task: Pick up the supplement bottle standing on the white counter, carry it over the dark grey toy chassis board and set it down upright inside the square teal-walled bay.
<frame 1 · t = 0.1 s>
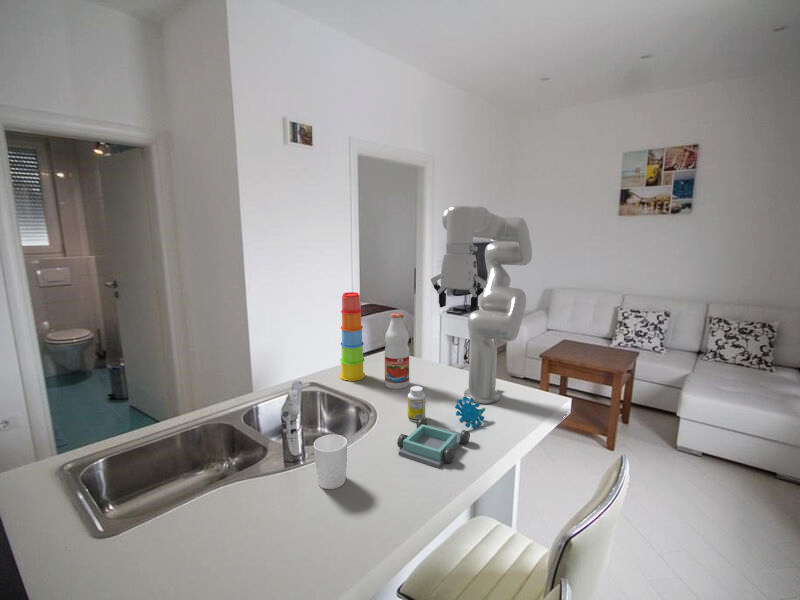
hand: (457, 308, 121), 37 cm above the table, tool pointing down, fingers open, 9 cm apart
gear: (470, 424, 128), on the table
supplement bottle: (416, 419, 131), on the table
stacking cups: (352, 377, 167), on the table
fruit juice: (397, 385, 159), on the table
chassis: (433, 445, 115), on the table
white cup: (331, 481, 99), on the table
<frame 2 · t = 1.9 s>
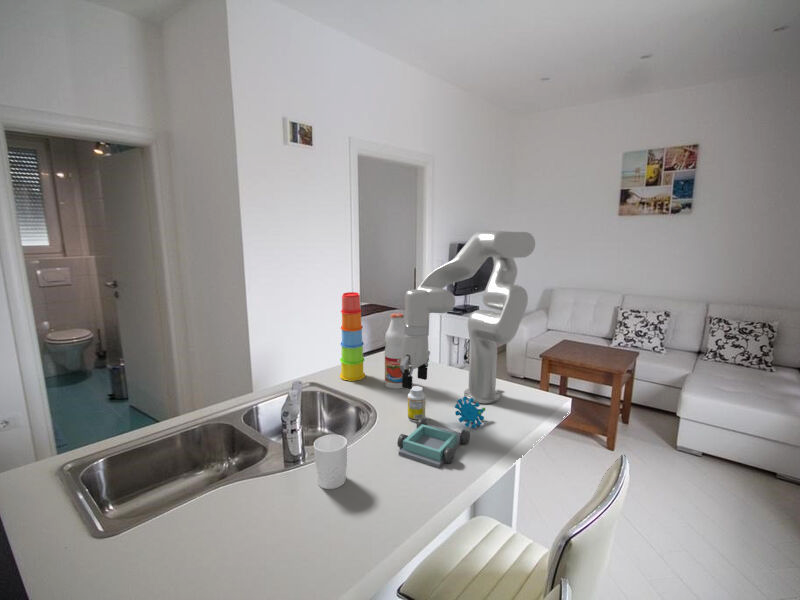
hand: (414, 383, 129), 12 cm above the table, tool pointing down, fingers open, 9 cm apart
nothing on the table moved.
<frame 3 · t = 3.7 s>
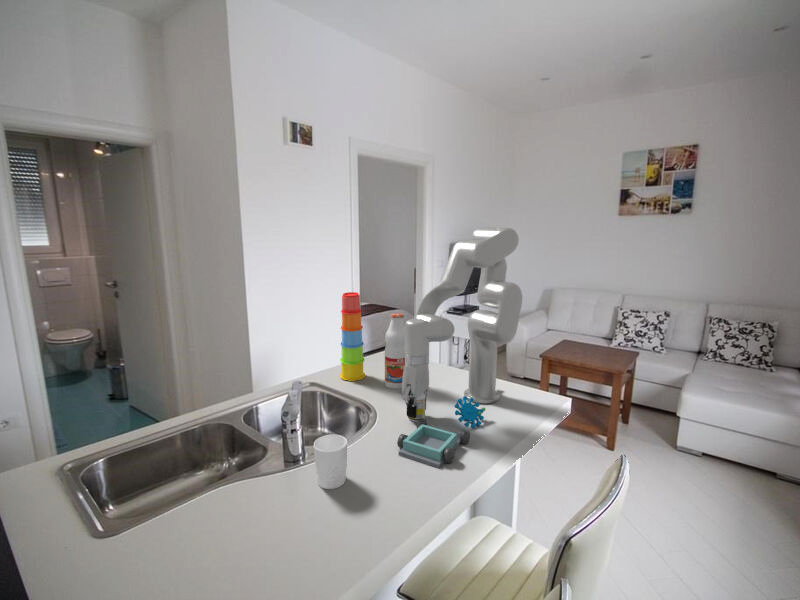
hand: (416, 412, 131), 2 cm above the table, tool pointing down, fingers closed on supplement bottle, 5 cm apart
supplement bottle: (416, 419, 131), on the table, touching gripper
everything else where it was.
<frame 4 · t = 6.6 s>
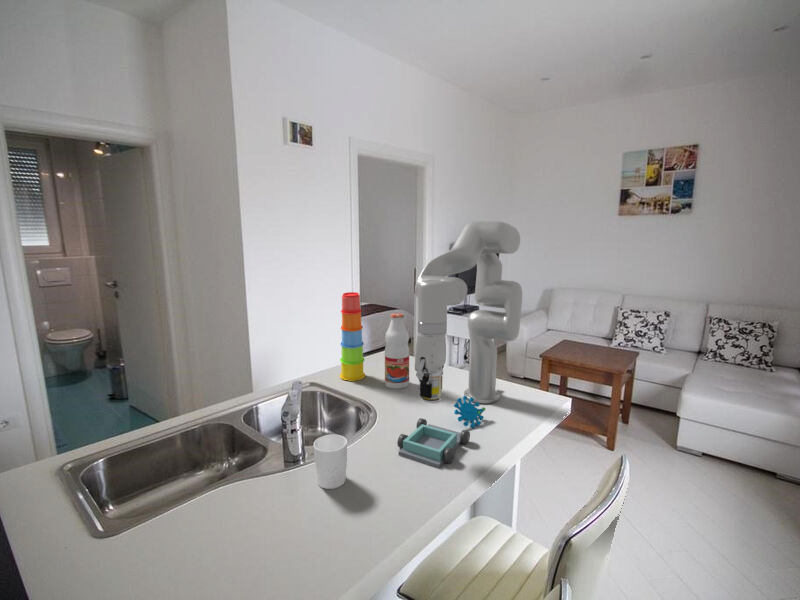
hand: (431, 392, 110), 17 cm above the table, tool pointing down, fingers closed on supplement bottle, 5 cm apart
supplement bottle: (430, 400, 111), point 14 cm above the table, touching gripper
everything else where it was.
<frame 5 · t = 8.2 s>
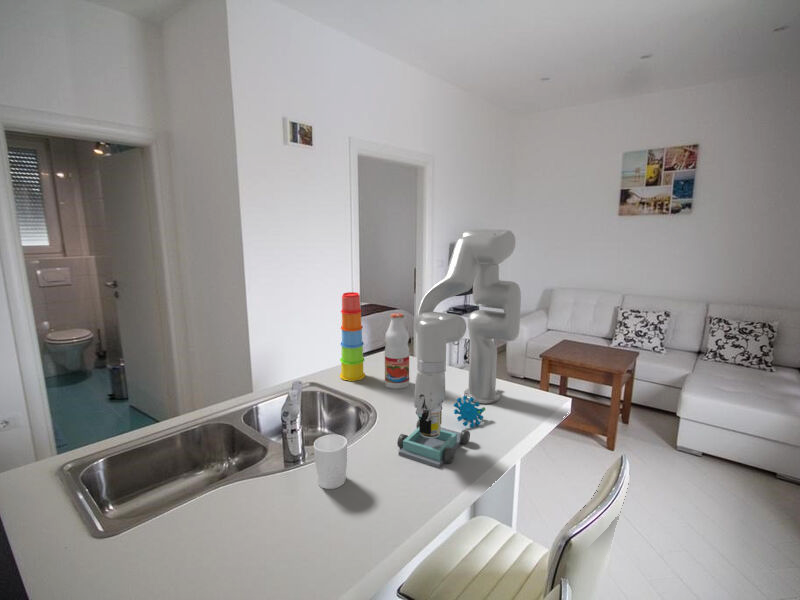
hand: (430, 427, 112), 6 cm above the table, tool pointing down, fingers closed on supplement bottle, 5 cm apart
supplement bottle: (430, 435, 113), point 4 cm above the table, touching gripper
everything else where it was.
when the fingers open (5 cm above the table, at t = 9.4 s): supplement bottle drops 2 cm, resting on chassis.
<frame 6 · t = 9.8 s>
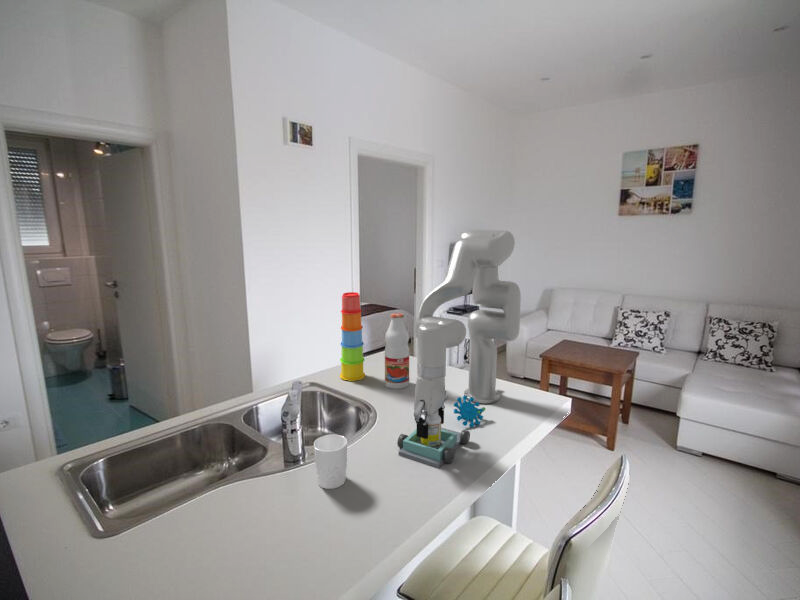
hand: (430, 429, 112), 6 cm above the table, tool pointing down, fingers open, 9 cm apart
supplement bottle: (430, 445, 113), point 1 cm above the table, touching chassis
everything else where it was.
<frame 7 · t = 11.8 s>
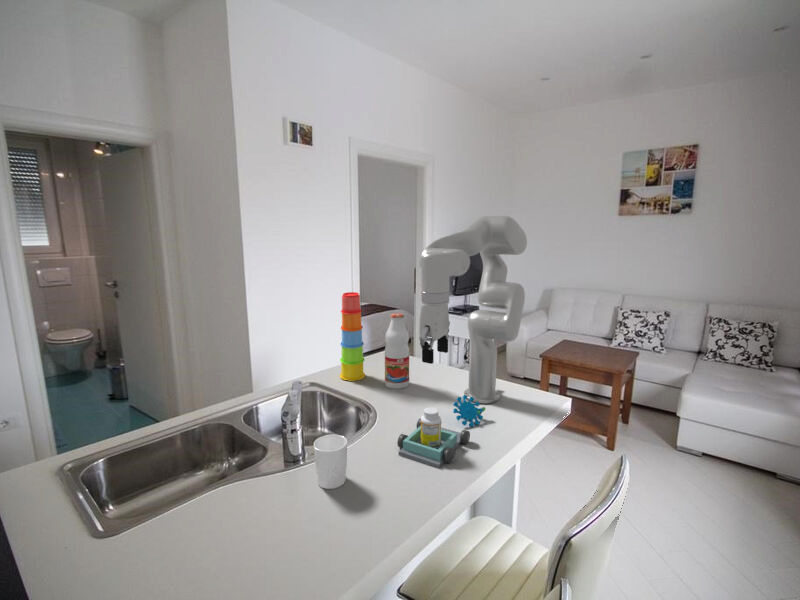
hand: (435, 357, 115), 24 cm above the table, tool pointing down, fingers open, 9 cm apart
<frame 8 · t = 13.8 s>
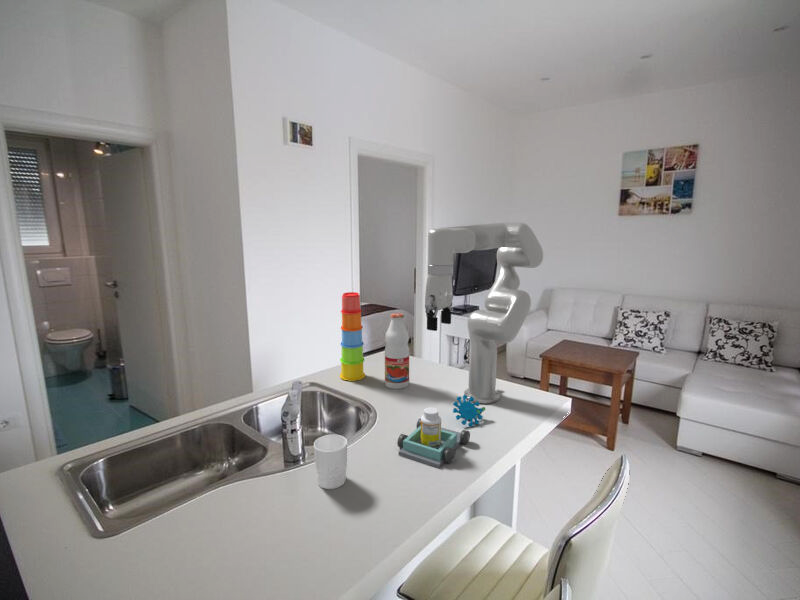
hand: (439, 326, 125), 30 cm above the table, tool pointing down, fingers open, 9 cm apart
at the end: supplement bottle 0.3 cm from the target spot on the chassis, point 0.8 cm above the chassis's base; supplement bottle tilted 0°; the gripper is holding nothing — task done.
